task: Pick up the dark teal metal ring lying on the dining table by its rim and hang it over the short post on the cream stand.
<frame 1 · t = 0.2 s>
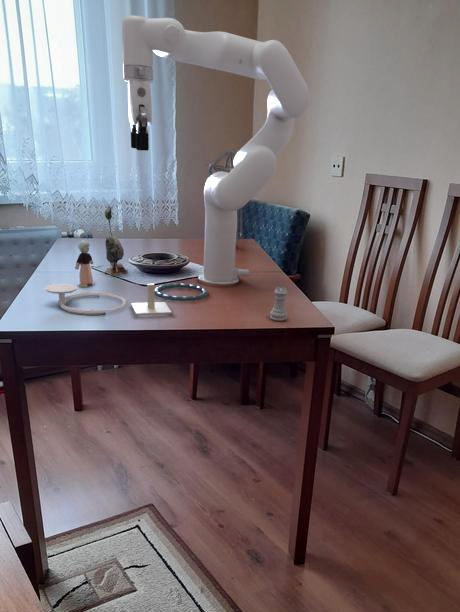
hand: (139, 149, 149), 37 cm above the table, tool pointing down, fingers open, 9 cm apart
hand towel holder: (86, 306, 144), on the table
grandmother figurine: (86, 285, 161), on the table
ring: (181, 292, 156), point 1 cm above the table
rook chess piece: (278, 319, 142), on the table
geometric lantern: (224, 247, 223), on the table
post: (151, 312, 141), on the table
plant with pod: (116, 274, 174), on the table
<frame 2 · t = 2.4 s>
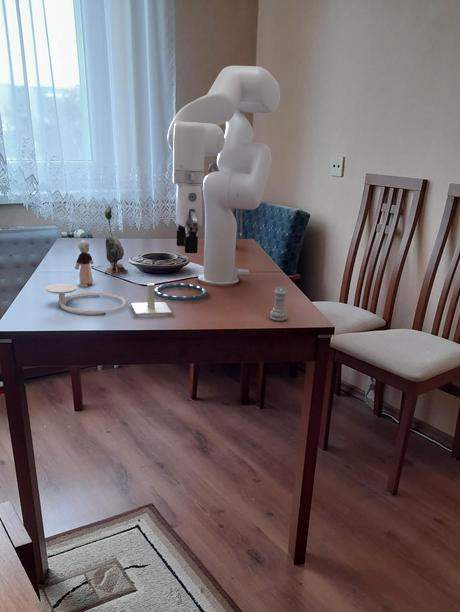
hand: (186, 249, 144), 14 cm above the table, tool pointing down, fingers open, 9 cm apart
nothing on the table moved.
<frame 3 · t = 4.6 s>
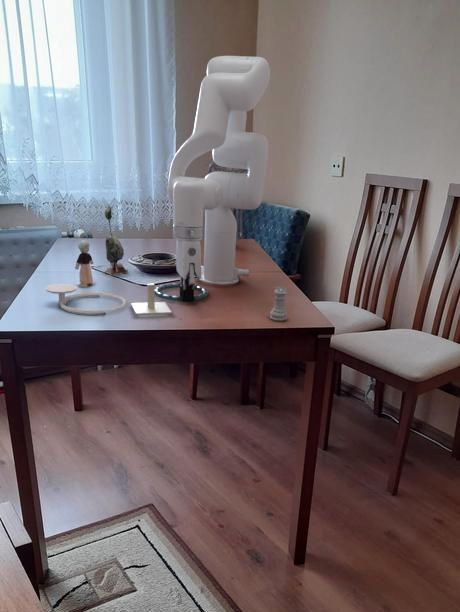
hand: (186, 301, 151), 0 cm above the table, tool pointing down, fingers closed on ring, 1 cm apart
ring: (181, 292, 156), point 1 cm above the table, touching gripper
everything else where it was.
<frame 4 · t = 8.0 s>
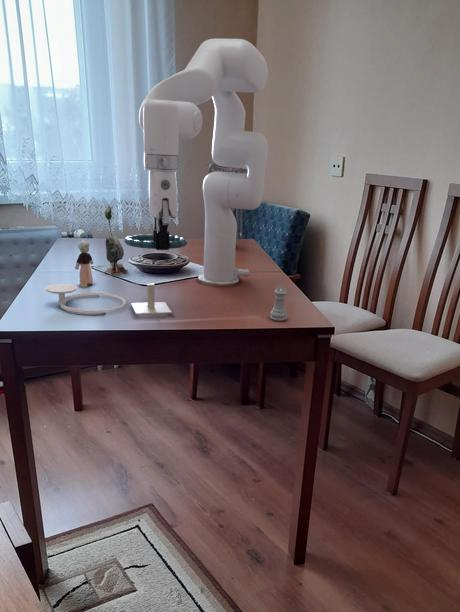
hand: (161, 248, 131), 17 cm above the table, tool pointing down, fingers closed on ring
ring: (156, 241, 136), point 17 cm above the table, touching gripper
everything else where it was.
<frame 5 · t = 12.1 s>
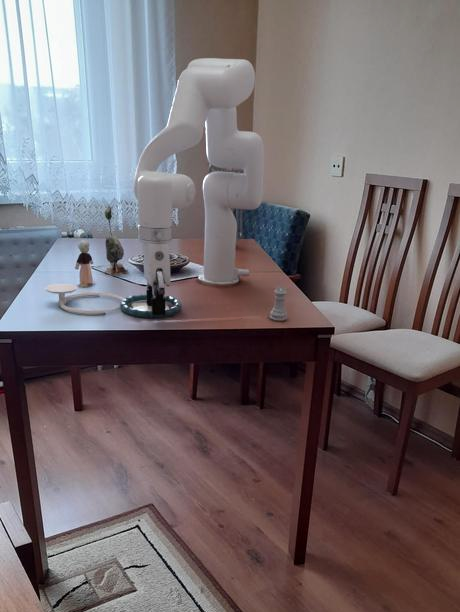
hand: (155, 309, 134), 3 cm above the table, tool pointing down, fingers open, 6 cm apart
ring: (151, 305, 140), point 2 cm above the table, touching post
everything else where it was.
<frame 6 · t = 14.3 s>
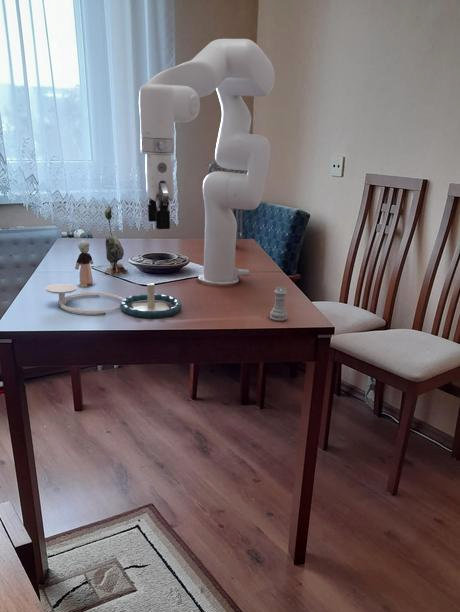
hand: (158, 224, 134), 21 cm above the table, tool pointing down, fingers open, 9 cm apart
nothing on the table moved.
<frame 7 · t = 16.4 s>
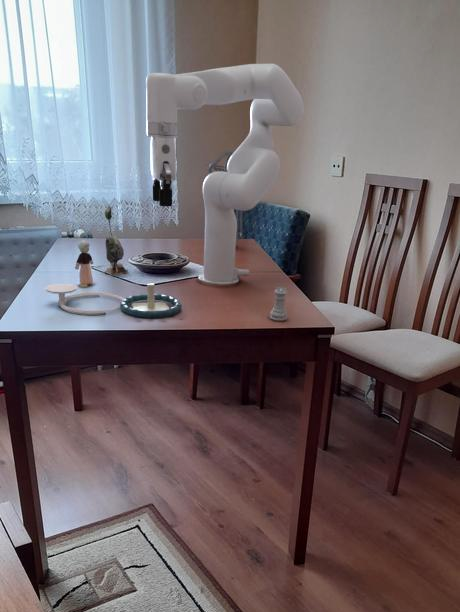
hand: (162, 203, 146), 24 cm above the table, tool pointing down, fingers open, 9 cm apart
nothing on the table moved.
at the end: ring 0.3 cm from the post (horizontally); ring point 1.8 cm above the table; the gripper is holding nothing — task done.
